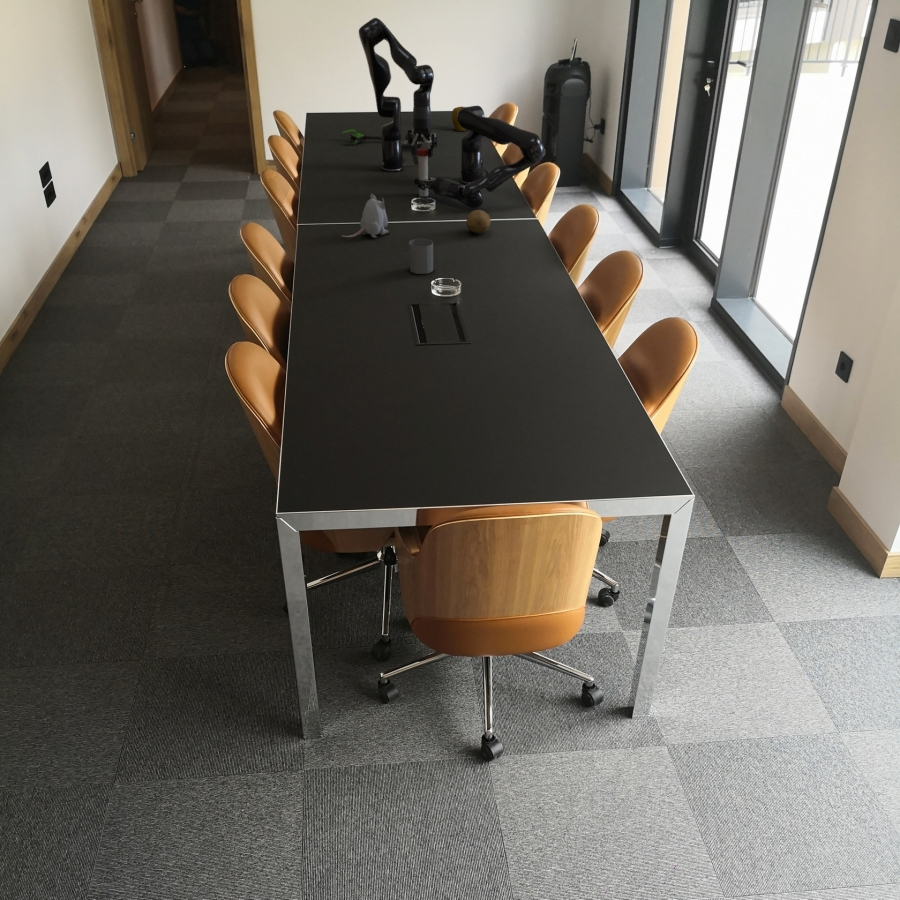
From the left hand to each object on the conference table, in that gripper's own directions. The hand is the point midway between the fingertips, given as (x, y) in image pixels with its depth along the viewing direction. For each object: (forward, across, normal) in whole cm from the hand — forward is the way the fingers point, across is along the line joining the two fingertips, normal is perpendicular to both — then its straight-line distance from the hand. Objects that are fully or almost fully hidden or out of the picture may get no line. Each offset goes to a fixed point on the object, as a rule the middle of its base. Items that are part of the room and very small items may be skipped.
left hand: (422, 156), depth 376 cm
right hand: (+11, -3, +1) cm, 11 cm away
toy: (+17, +14, -60) cm, 64 cm away
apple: (+17, -54, +114) cm, 128 cm away
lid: (-2, 0, 0) cm, 2 cm away
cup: (+17, +52, -75) cm, 93 cm away
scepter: (+17, -80, +63) cm, 103 cm away
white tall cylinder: (+17, 0, 0) cm, 17 cm away
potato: (+17, +47, -29) cm, 58 cm away
